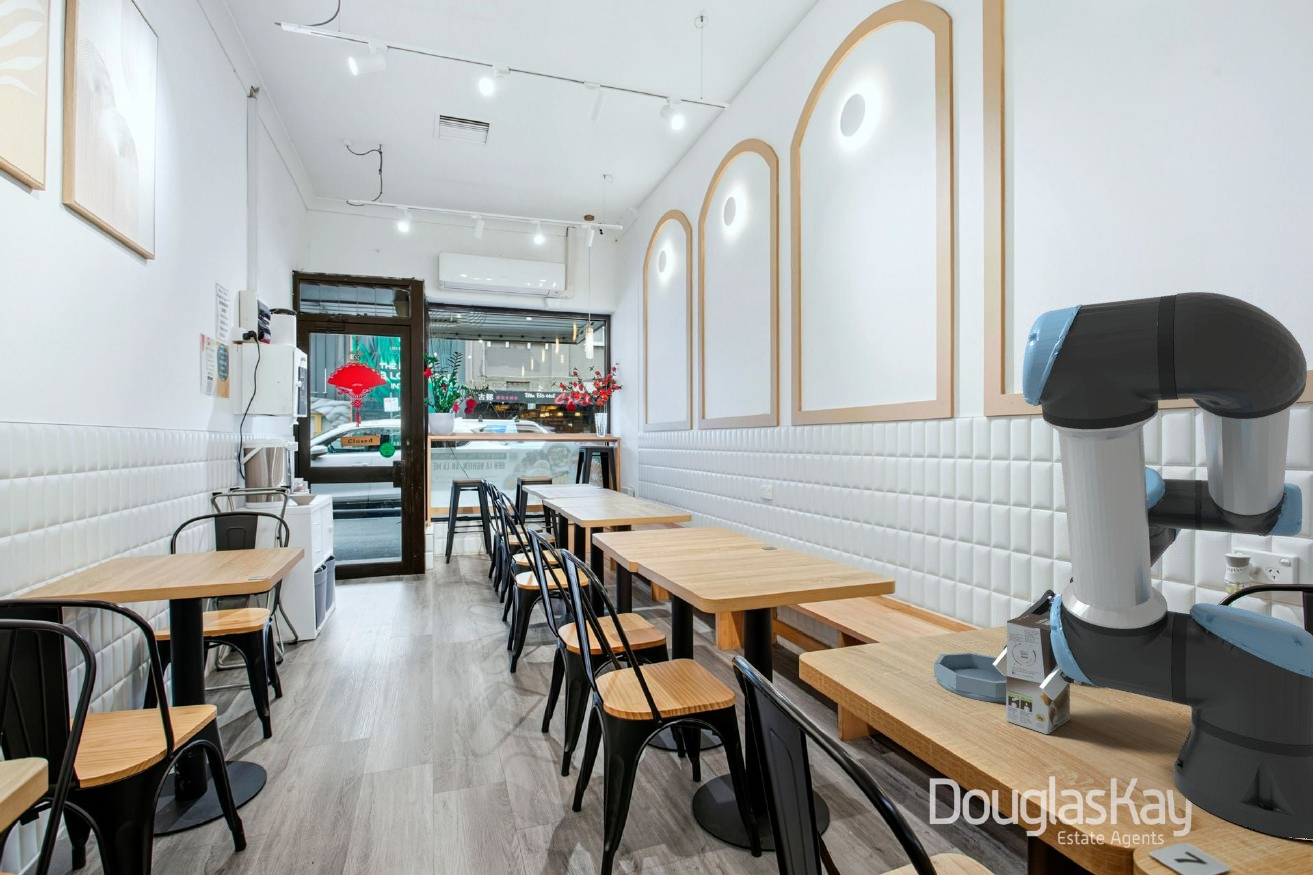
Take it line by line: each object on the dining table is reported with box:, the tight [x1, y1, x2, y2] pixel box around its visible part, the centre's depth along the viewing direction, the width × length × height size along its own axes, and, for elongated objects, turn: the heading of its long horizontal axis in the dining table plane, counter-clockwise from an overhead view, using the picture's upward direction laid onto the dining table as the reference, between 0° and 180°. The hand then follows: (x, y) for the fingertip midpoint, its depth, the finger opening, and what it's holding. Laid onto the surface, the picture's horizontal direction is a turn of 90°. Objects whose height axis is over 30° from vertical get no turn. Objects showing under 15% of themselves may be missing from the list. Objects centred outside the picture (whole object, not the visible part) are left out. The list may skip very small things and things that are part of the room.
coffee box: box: [1005, 613, 1071, 735], centre depth 100 cm, size 9×6×16 cm
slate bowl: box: [933, 652, 1007, 704], centre depth 115 cm, size 15×15×4 cm
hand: (1021, 681), depth 100 cm, fingers closed on coffee box, 9 cm apart
